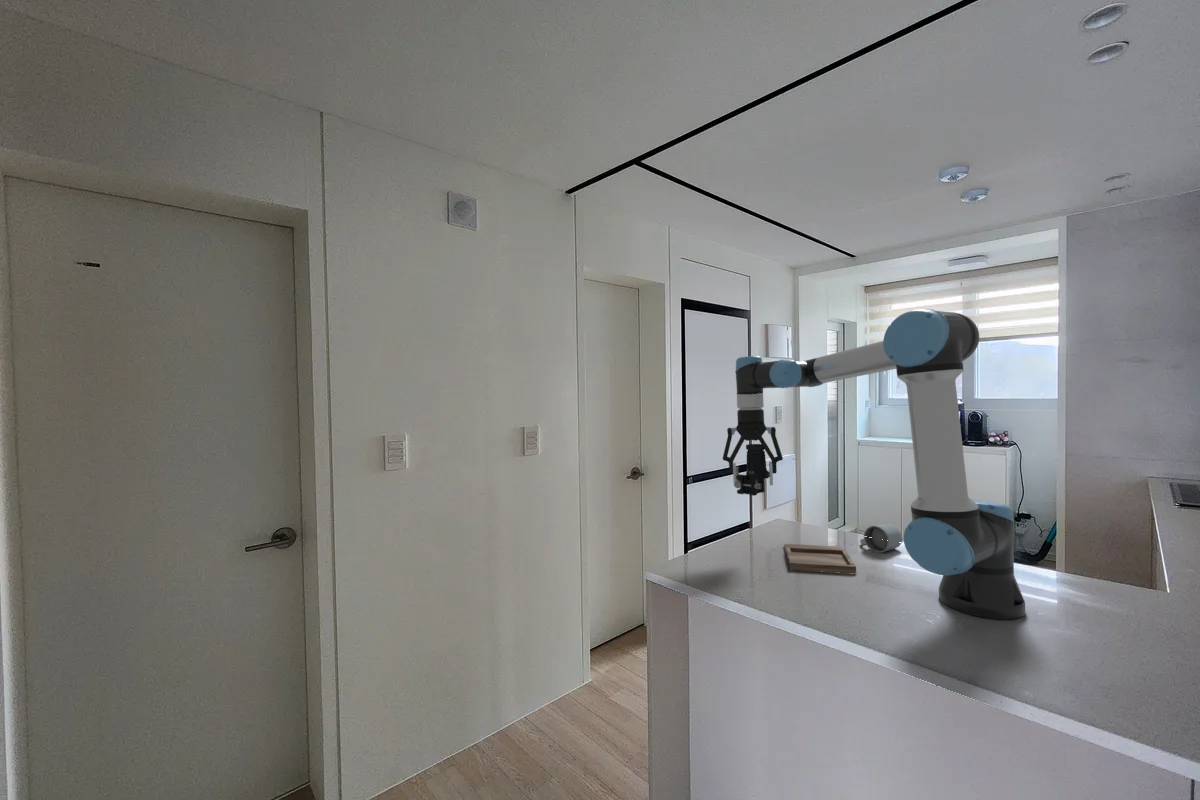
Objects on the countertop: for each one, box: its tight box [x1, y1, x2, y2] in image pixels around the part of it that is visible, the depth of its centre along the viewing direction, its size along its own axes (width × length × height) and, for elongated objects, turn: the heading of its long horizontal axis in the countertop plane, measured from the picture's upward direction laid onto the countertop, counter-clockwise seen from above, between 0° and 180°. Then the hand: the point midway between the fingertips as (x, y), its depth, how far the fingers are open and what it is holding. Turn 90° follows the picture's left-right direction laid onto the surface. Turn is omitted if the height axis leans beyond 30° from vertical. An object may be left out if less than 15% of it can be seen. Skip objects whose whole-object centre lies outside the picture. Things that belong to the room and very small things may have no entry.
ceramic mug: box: [859, 523, 903, 554], centre depth 148 cm, size 11×8×8 cm
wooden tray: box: [784, 543, 857, 574], centre depth 140 cm, size 20×16×2 cm
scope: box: [733, 443, 770, 496], centre depth 146 cm, size 8×14×10 cm
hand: (753, 484), depth 146 cm, fingers closed on scope, 10 cm apart
